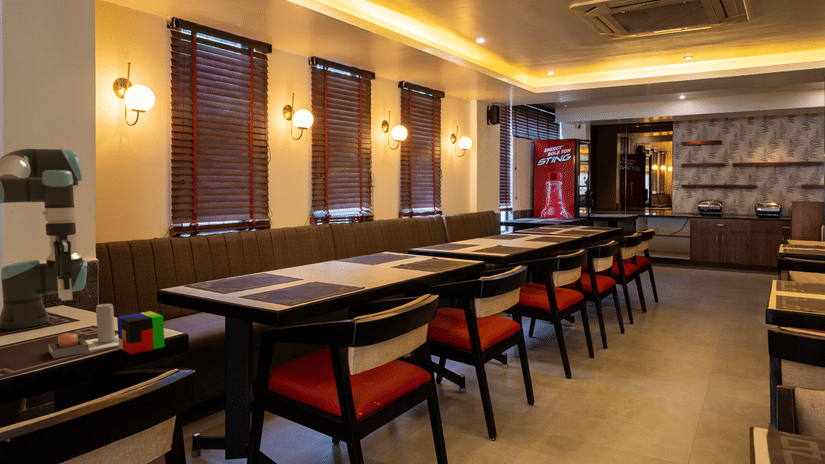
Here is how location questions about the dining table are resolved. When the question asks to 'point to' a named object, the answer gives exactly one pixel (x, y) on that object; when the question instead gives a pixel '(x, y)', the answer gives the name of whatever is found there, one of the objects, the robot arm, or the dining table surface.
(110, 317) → the beverage can
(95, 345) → the white flat block
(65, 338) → the button
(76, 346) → the button collar
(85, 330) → the dining table surface
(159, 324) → the puzzle toy
